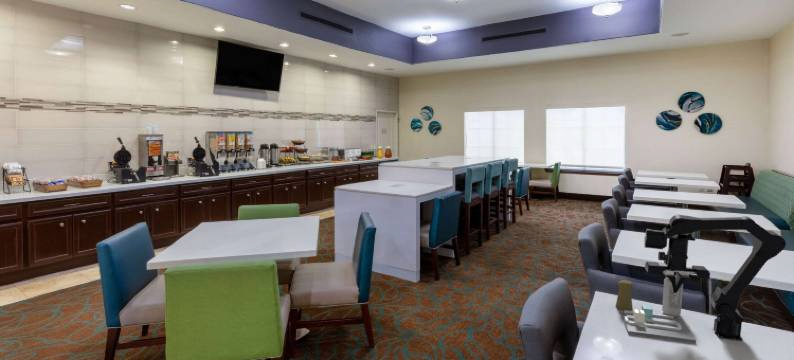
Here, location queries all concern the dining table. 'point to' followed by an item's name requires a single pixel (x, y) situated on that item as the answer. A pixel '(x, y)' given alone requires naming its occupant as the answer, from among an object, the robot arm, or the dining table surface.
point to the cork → (624, 295)
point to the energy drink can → (671, 299)
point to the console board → (658, 326)
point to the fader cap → (639, 316)
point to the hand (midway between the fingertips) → (674, 292)
